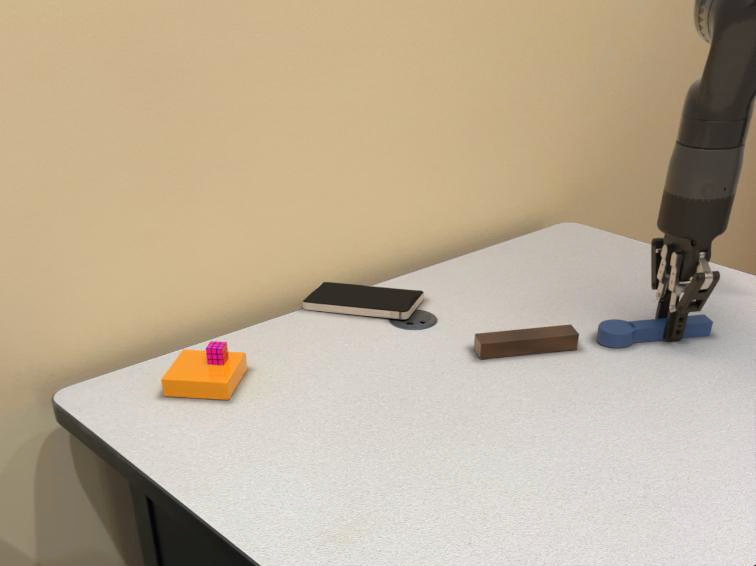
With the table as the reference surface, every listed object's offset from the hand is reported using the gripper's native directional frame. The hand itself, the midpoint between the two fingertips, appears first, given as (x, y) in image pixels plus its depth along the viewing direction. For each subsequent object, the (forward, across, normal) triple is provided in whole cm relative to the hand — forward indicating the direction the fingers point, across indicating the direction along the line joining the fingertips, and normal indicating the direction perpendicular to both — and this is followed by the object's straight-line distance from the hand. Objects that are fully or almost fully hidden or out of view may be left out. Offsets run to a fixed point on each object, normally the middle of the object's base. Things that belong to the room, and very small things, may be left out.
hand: (667, 334), depth 110 cm
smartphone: (0, +18, +35) cm, 39 cm away
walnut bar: (0, 0, +18) cm, 18 cm away
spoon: (0, 0, +2) cm, 2 cm away
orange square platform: (+1, -1, +57) cm, 57 cm away
